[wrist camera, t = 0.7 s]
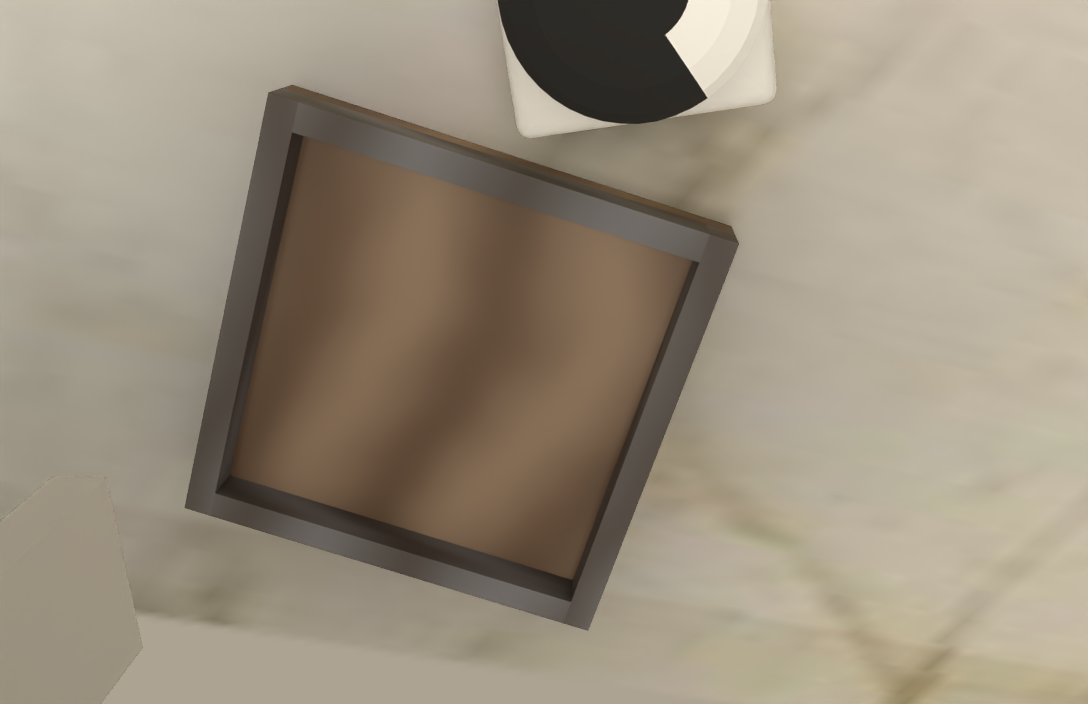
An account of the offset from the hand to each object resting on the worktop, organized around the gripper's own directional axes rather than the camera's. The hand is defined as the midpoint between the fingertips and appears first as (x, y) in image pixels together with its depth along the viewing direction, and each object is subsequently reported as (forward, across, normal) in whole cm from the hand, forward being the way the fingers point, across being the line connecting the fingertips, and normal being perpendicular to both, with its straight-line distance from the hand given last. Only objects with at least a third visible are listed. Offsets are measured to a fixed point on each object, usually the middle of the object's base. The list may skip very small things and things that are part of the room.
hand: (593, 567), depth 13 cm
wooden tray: (+23, -6, -6) cm, 25 cm away
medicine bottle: (+24, 0, +7) cm, 25 cm away
